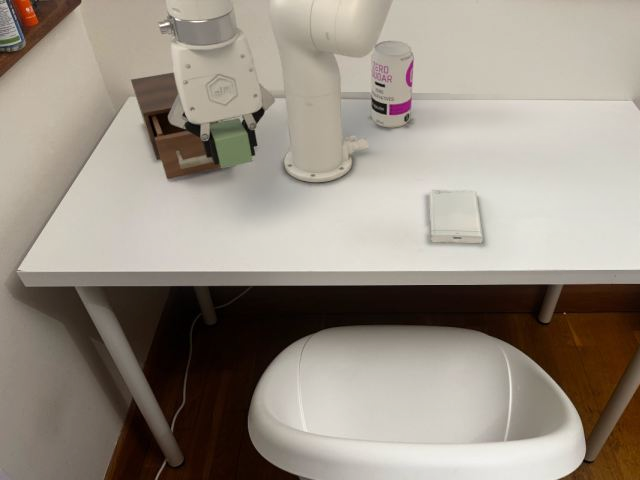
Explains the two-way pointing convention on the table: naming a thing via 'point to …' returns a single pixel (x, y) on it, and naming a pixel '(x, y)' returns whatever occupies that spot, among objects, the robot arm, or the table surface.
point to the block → (231, 142)
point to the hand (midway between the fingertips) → (232, 154)
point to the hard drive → (455, 216)
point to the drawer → (179, 149)
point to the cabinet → (155, 100)
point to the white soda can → (391, 83)
